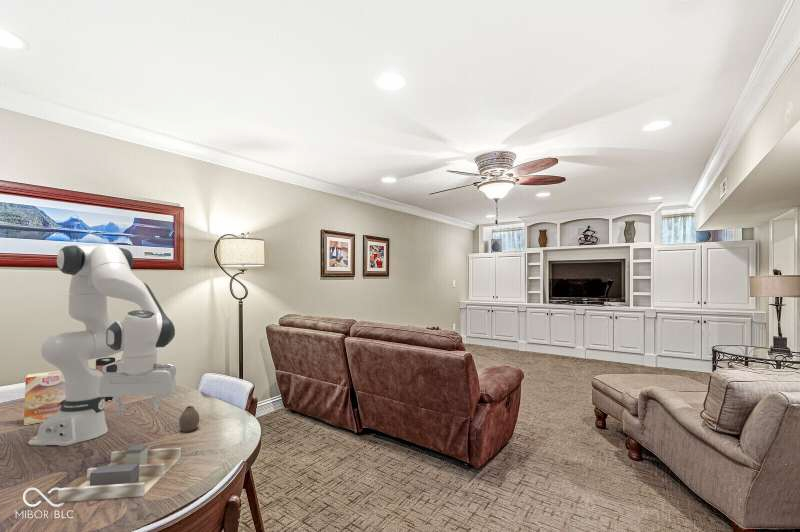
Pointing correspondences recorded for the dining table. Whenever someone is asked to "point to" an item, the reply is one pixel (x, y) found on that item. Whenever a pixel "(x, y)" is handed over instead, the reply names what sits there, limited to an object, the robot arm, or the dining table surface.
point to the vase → (189, 419)
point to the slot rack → (148, 476)
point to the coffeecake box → (43, 396)
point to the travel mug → (99, 366)
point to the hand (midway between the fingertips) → (137, 410)
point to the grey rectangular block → (137, 454)
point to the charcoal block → (115, 475)
